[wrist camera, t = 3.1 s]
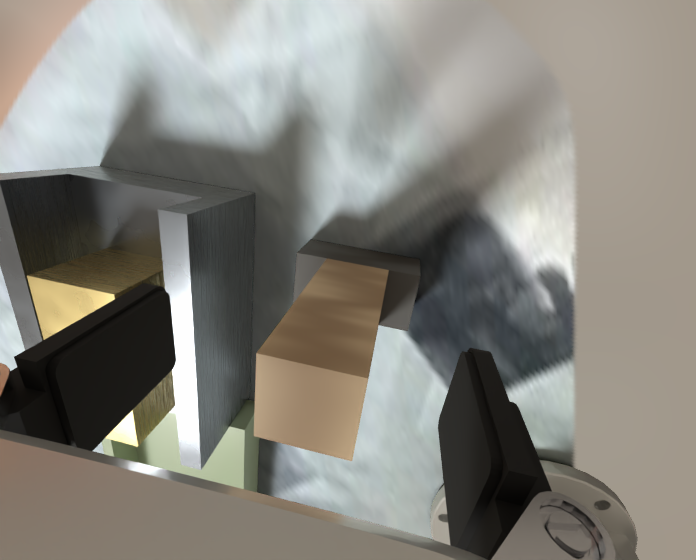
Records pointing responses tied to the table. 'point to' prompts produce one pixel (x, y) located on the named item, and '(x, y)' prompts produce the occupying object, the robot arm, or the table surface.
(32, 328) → the channel
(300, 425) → the t-shaped hammer
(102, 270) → the yellow wooden cube
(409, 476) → the table surface
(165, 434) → the chip tray
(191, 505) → the robot arm
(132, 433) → the yellow cube
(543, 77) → the table surface
